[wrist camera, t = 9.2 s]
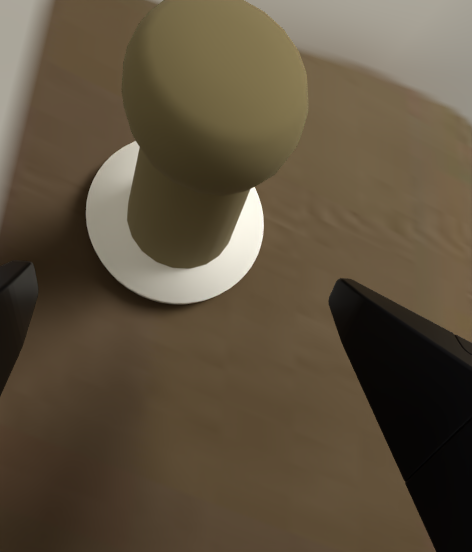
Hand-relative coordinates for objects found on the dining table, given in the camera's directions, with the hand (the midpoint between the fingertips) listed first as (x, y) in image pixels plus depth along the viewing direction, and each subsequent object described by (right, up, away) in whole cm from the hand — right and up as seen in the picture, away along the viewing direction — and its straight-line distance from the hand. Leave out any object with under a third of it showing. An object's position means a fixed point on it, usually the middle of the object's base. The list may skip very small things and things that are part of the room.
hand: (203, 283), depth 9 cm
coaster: (-2, +3, +9) cm, 10 cm away
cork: (-2, +4, +9) cm, 10 cm away
